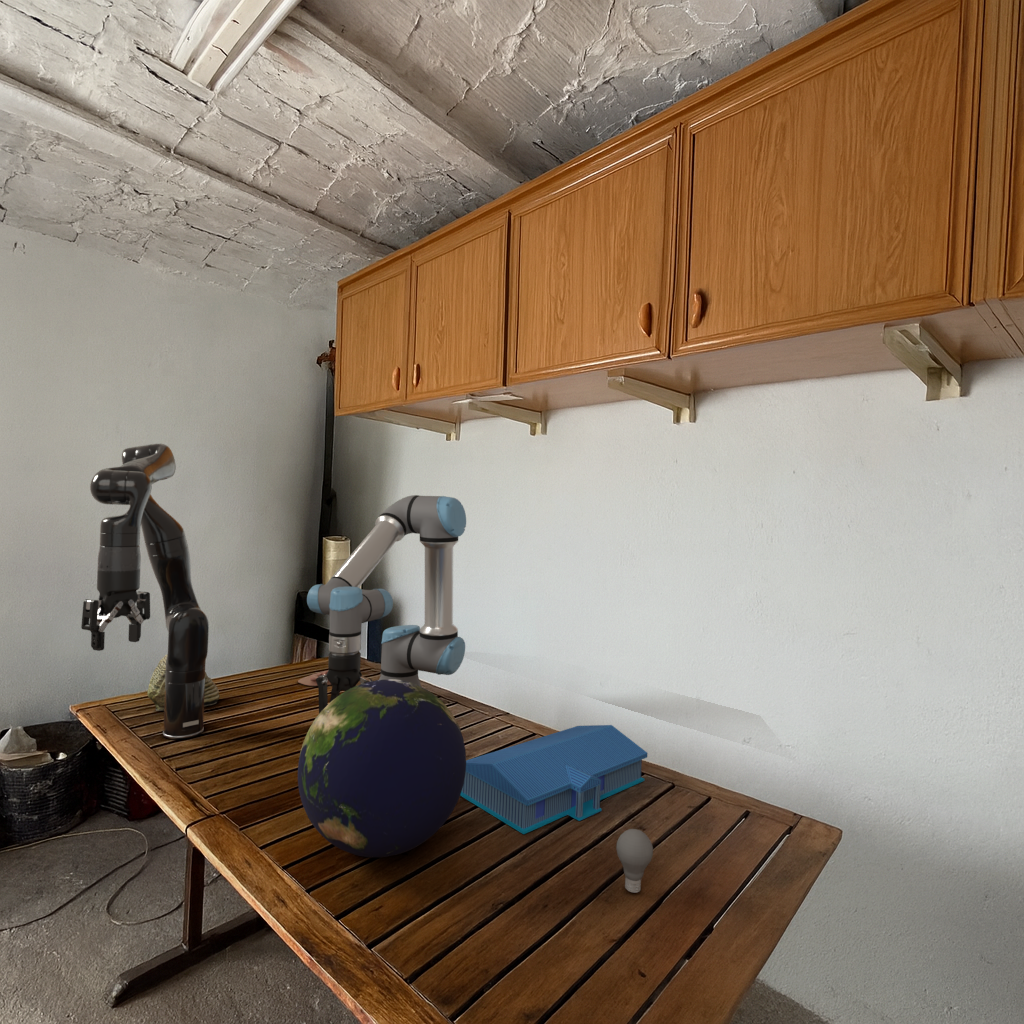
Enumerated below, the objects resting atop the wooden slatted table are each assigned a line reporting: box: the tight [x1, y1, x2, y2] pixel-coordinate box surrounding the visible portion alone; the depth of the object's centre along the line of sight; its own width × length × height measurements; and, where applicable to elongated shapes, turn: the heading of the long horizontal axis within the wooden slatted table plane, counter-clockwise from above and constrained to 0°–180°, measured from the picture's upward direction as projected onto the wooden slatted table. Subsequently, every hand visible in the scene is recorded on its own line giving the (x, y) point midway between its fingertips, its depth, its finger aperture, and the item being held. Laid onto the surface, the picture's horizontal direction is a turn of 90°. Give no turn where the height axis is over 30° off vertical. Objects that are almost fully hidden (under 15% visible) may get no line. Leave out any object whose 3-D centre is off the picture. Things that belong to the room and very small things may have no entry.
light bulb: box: [615, 828, 654, 894], centre depth 106 cm, size 6×6×10 cm
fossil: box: [147, 654, 221, 712], centre depth 185 cm, size 9×18×15 cm, turn 132°
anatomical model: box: [297, 670, 332, 687], centre depth 214 cm, size 13×4×12 cm
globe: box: [297, 679, 467, 858], centre depth 116 cm, size 30×30×30 cm
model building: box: [460, 724, 649, 835], centre depth 142 cm, size 39×24×10 cm, turn 132°
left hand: (116, 645), depth 131 cm, fingers open, 8 cm apart
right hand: (342, 747), depth 153 cm, fingers closed on canister, 4 cm apart
